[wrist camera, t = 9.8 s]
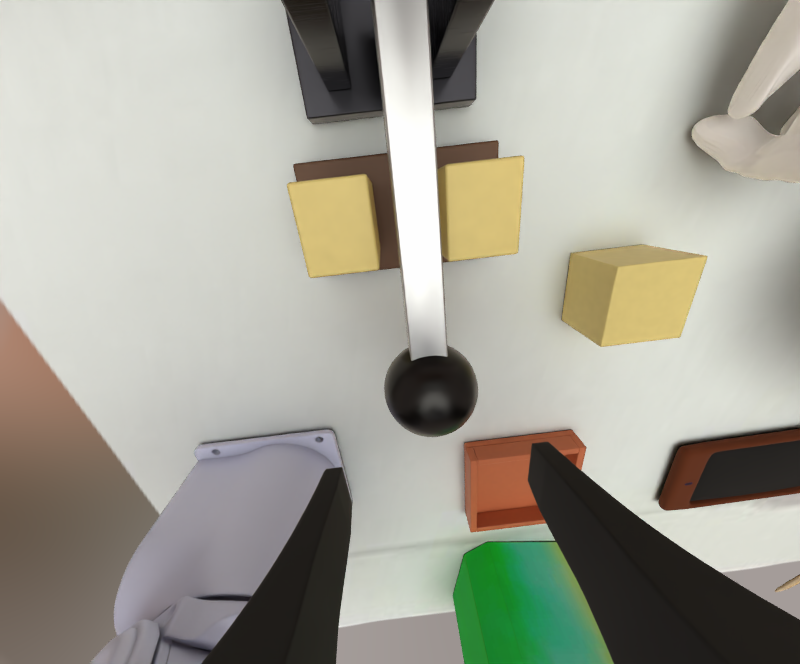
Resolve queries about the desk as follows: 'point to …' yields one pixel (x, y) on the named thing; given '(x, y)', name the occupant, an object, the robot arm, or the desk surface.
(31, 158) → the desk surface
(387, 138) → the lever
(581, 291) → the butter pat
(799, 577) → the tool
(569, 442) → the tray
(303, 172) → the butter
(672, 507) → the smartphone
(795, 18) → the white lumpy statuette
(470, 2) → the cutter bracket
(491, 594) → the green octagonal canister
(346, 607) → the desk surface
